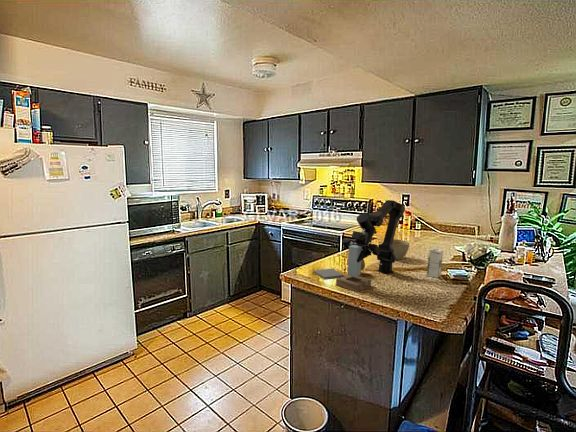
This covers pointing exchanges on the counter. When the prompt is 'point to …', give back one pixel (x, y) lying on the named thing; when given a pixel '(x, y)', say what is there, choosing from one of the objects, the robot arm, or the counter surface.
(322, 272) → the charcoal mat
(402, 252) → the planter bowl
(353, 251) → the slate peg
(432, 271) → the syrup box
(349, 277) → the walnut pocket block
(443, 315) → the counter surface
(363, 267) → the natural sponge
